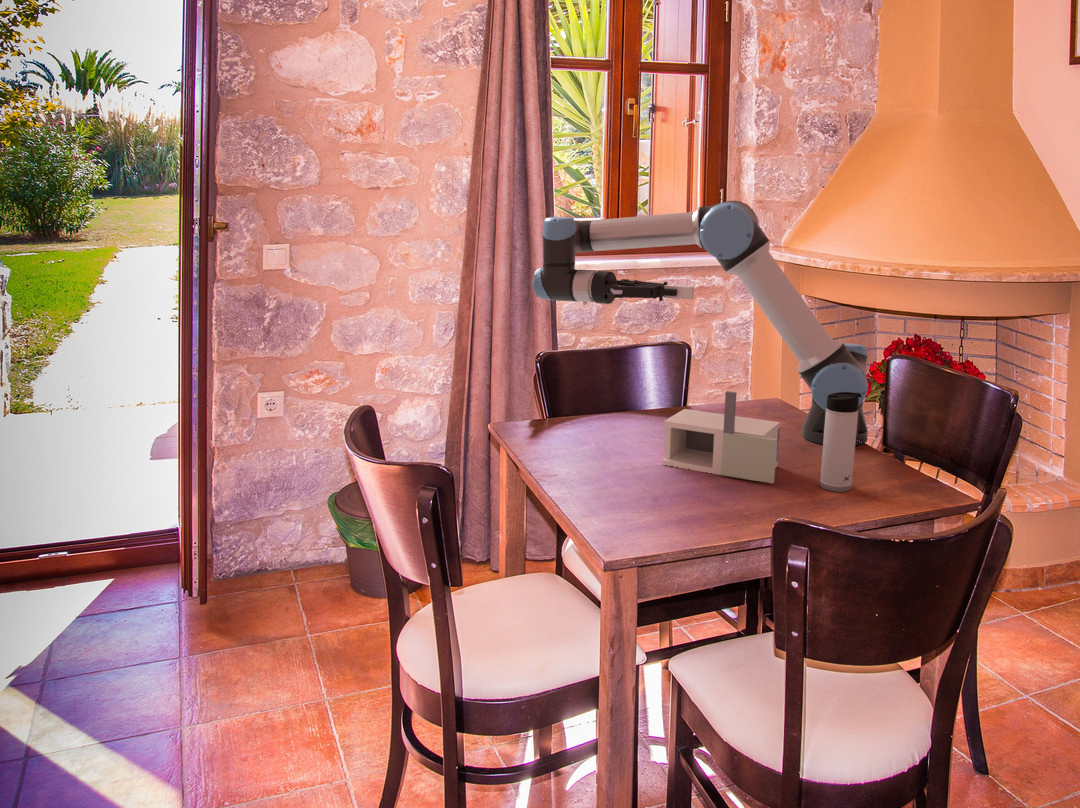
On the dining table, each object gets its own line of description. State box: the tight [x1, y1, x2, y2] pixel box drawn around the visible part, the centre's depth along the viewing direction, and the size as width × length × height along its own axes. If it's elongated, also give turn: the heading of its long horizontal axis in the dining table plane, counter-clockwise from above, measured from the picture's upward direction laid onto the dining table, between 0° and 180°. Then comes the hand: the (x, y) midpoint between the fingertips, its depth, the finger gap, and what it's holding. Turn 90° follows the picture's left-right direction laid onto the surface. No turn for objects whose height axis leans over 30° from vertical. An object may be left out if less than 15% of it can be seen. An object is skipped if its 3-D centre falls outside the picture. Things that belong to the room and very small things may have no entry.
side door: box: [720, 390, 777, 484], centre depth 206 cm, size 11×1×18 cm, turn 61°
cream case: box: [661, 408, 781, 483], centre depth 217 cm, size 22×12×10 cm, turn 61°
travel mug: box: [819, 392, 861, 493], centre depth 202 cm, size 6×7×20 cm
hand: (692, 292), depth 221 cm, fingers closed
